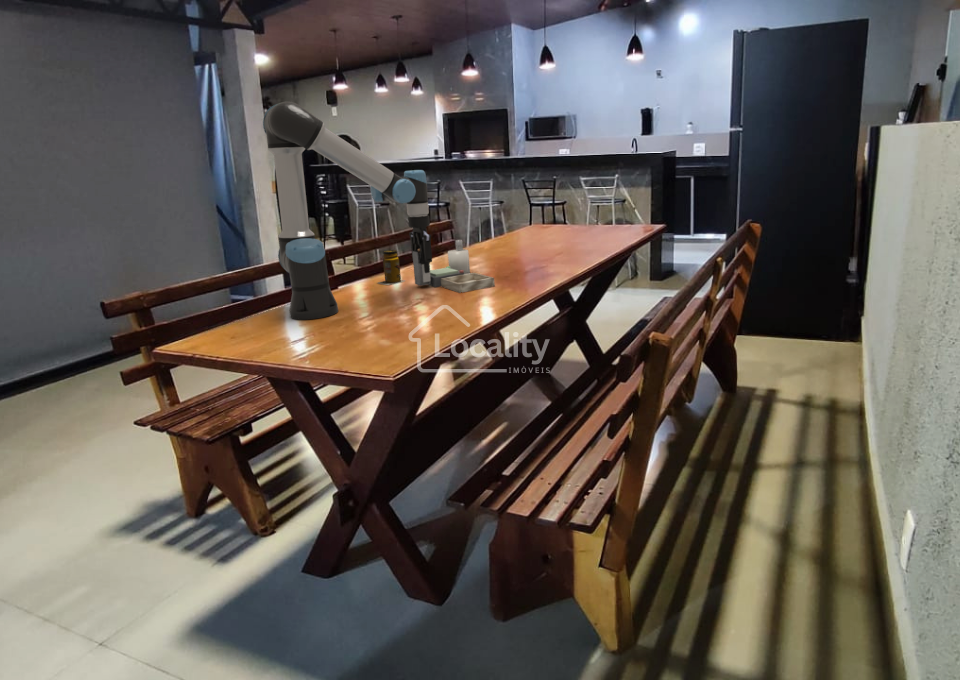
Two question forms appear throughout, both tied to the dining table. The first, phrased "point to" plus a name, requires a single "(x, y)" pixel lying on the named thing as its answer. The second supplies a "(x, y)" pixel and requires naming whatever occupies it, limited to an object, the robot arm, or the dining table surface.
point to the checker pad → (442, 272)
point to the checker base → (437, 280)
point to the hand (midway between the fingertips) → (423, 280)
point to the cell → (418, 268)
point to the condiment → (391, 268)
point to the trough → (467, 282)
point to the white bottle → (459, 258)
